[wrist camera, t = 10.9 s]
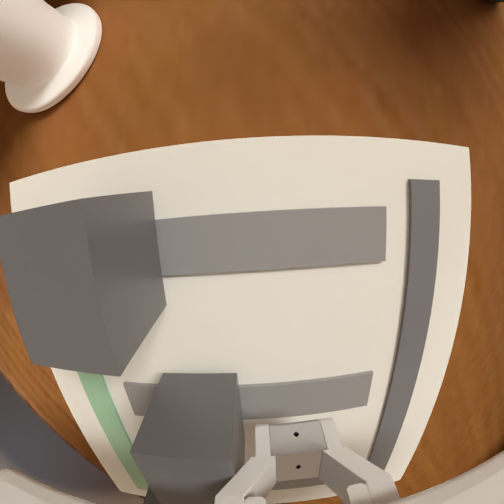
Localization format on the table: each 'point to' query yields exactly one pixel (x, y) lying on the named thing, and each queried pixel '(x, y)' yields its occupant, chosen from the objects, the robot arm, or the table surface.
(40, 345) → the handle
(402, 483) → the table surface
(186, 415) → the handle
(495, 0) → the wine bottle
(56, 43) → the candle
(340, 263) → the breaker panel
